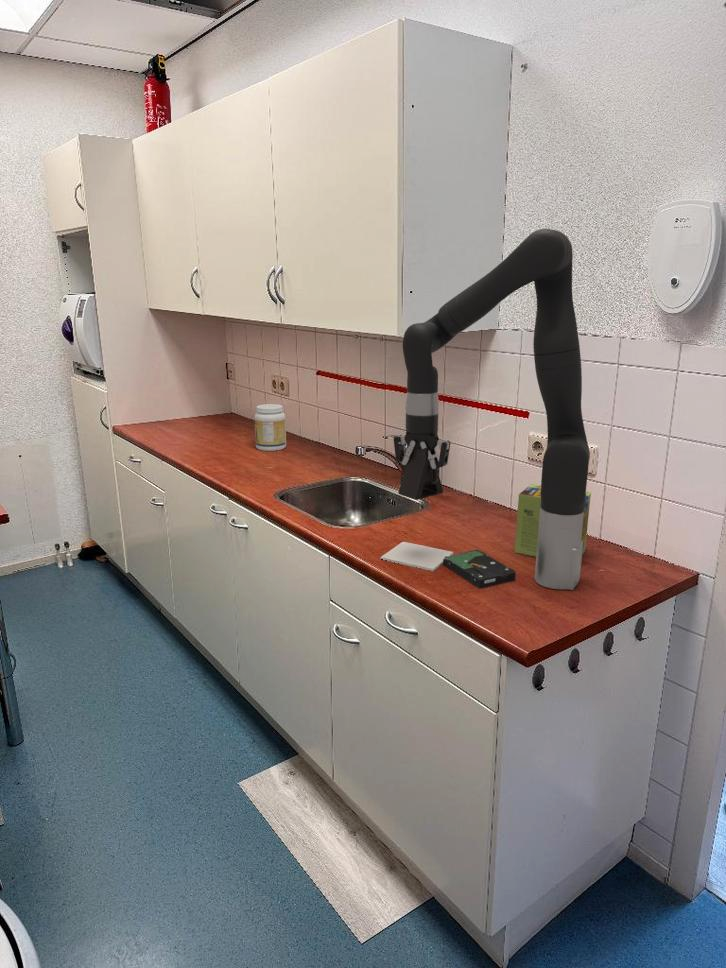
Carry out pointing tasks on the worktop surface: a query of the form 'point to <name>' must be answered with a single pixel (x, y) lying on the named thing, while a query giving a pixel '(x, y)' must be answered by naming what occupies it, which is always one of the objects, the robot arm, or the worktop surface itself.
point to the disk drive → (479, 569)
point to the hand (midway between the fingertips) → (420, 481)
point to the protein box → (537, 520)
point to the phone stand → (419, 477)
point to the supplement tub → (270, 427)
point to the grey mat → (417, 556)
